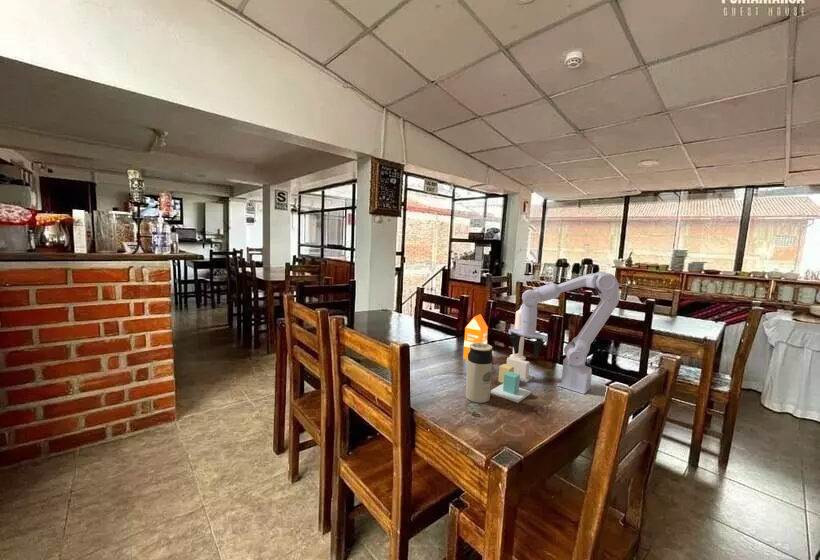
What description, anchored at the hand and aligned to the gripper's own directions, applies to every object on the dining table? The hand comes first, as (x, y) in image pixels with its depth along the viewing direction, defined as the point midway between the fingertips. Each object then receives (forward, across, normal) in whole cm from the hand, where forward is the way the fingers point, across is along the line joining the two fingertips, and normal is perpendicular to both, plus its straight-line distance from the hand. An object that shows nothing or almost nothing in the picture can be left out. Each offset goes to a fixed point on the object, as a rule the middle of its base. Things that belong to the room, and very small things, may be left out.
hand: (525, 355), depth 126 cm
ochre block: (+9, +4, +8) cm, 13 cm away
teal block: (+8, -2, +16) cm, 18 cm away
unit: (+9, +3, 0) cm, 10 cm away
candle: (+10, +12, -21) cm, 26 cm away
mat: (+9, -2, +16) cm, 19 cm away
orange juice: (+10, +26, -6) cm, 28 cm away
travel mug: (+10, +4, +28) cm, 30 cm away
